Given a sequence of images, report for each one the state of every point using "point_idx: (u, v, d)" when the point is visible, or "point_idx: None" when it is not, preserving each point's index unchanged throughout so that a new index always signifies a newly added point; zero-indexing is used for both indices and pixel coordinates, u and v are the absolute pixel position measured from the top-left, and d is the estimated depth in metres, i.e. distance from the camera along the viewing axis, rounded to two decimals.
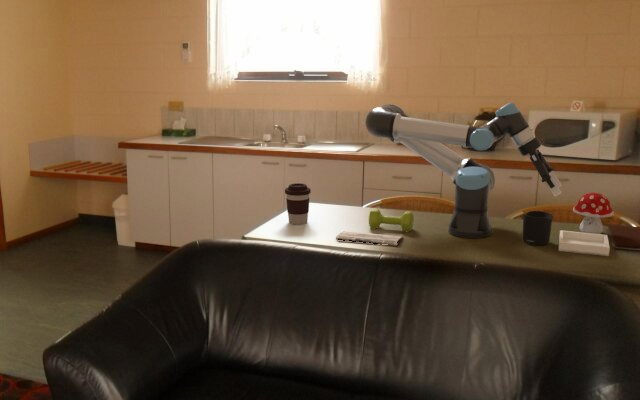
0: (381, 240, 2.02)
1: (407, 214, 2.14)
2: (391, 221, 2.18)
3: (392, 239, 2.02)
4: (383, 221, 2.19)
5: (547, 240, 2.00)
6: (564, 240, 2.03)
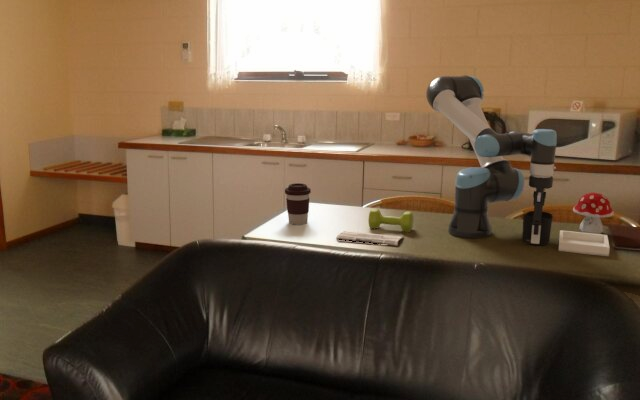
0: (381, 240, 2.02)
1: (407, 214, 2.14)
2: (391, 222, 2.17)
3: (392, 239, 2.02)
4: (383, 221, 2.18)
5: (547, 240, 2.00)
6: (564, 240, 2.03)
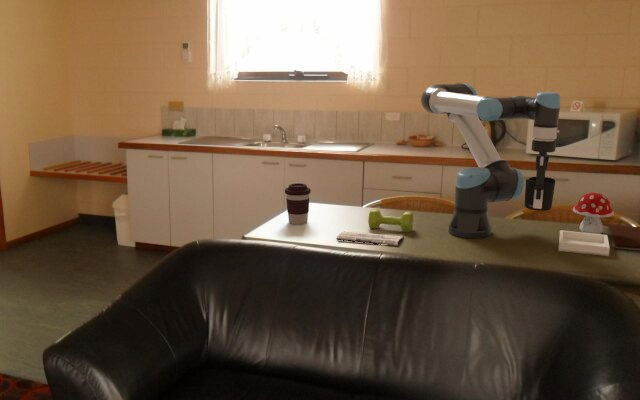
0: (382, 240, 2.02)
1: (407, 214, 2.14)
2: (391, 222, 2.17)
3: (393, 239, 2.02)
4: (383, 221, 2.18)
5: (549, 205, 1.97)
6: (564, 240, 2.03)
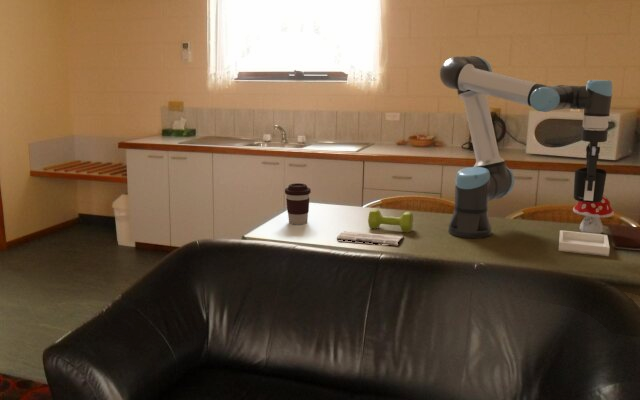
0: (382, 240, 2.02)
1: (406, 215, 2.14)
2: (390, 222, 2.17)
3: (393, 239, 2.02)
4: (382, 221, 2.18)
5: (601, 197, 1.90)
6: (564, 240, 2.03)
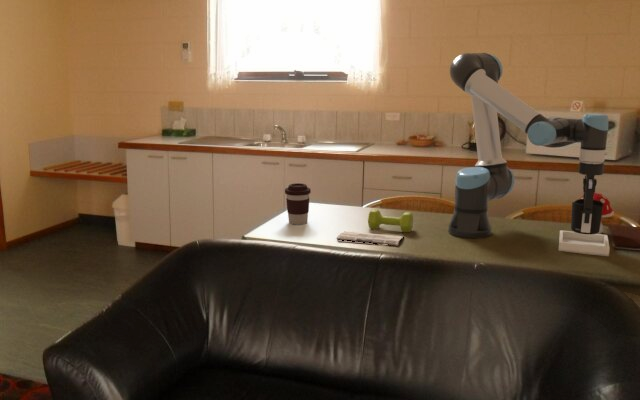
0: (382, 240, 2.02)
1: (406, 215, 2.13)
2: (390, 222, 2.17)
3: (393, 239, 2.02)
4: (382, 222, 2.18)
5: (598, 229, 1.93)
6: (564, 240, 2.03)
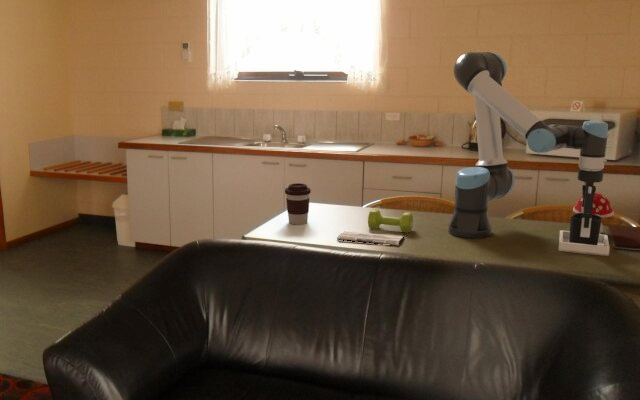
0: (383, 240, 2.02)
1: (406, 215, 2.13)
2: (390, 222, 2.17)
3: (393, 239, 2.02)
4: (382, 222, 2.18)
5: (596, 243, 1.94)
6: (564, 240, 2.03)
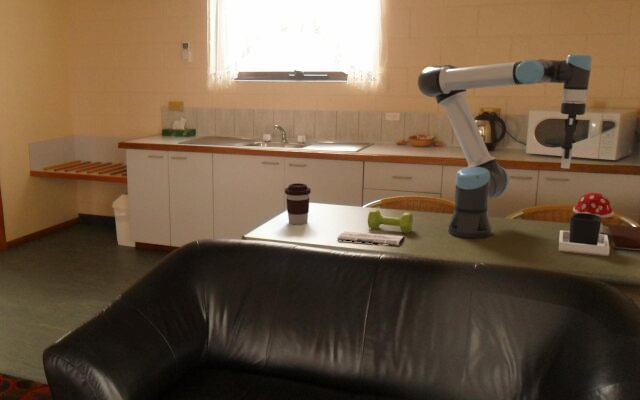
0: (383, 240, 2.02)
1: (406, 215, 2.13)
2: (390, 222, 2.16)
3: (394, 239, 2.02)
4: (382, 222, 2.18)
5: (596, 243, 1.94)
6: (564, 240, 2.03)
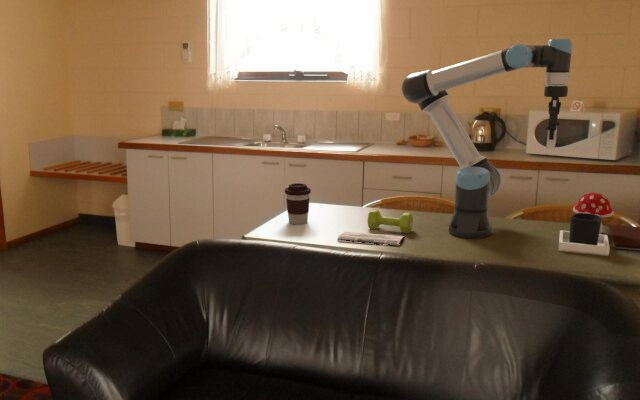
0: (383, 240, 2.02)
1: (405, 215, 2.13)
2: (390, 223, 2.16)
3: (394, 239, 2.02)
4: (382, 222, 2.17)
5: (596, 243, 1.94)
6: (564, 240, 2.03)
